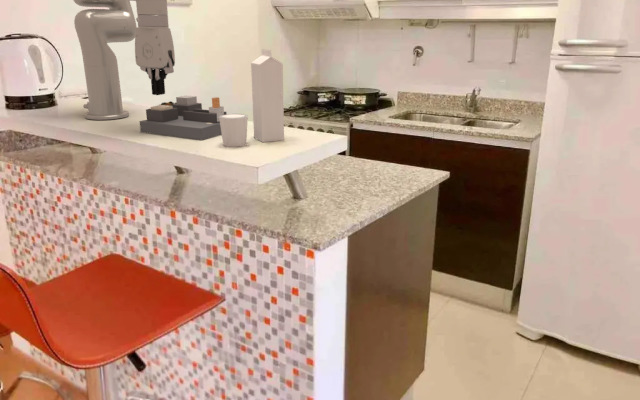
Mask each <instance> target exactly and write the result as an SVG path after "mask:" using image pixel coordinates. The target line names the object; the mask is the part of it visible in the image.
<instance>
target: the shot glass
mask: <svg viewBox="0 0 640 400" xmlns="http://www.w3.org/2000/svg"><path fill="white" fill-rule="evenodd" d="M248 118H249V116H248V115H247V114H244V113H243V114H242V113H227V114H226V115H221V116H219V120H220V126H221V133H222V135H221V139H222V145H223V146H224V147H228V148H229V147H231V148H237V147H243V146H246V145H247V140H248V139H247V137H248Z"/></svg>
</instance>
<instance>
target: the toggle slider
mask: <svg viewBox="0 0 640 400" xmlns="http://www.w3.org/2000/svg"><path fill="white" fill-rule="evenodd" d="M220 102H221V101H220V97H218V96H217V97H215V96H214V97H212V98H211V104H212V106H209V107H208V110H209V113H211V114H217V122H219V121H220V120H219V116H221V115H224V112H225V107H224V106H222V105H221V103H220Z"/></svg>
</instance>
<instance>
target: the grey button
mask: <svg viewBox="0 0 640 400" xmlns="http://www.w3.org/2000/svg"><path fill="white" fill-rule="evenodd" d="M175 99H176V100H175V101H176V102H177V105H187V106H188V105H193V104H197V103H198V101H197V96H195V95H193V96H192V95H181V96H176V97H175ZM176 102H175V103H176Z"/></svg>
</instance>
